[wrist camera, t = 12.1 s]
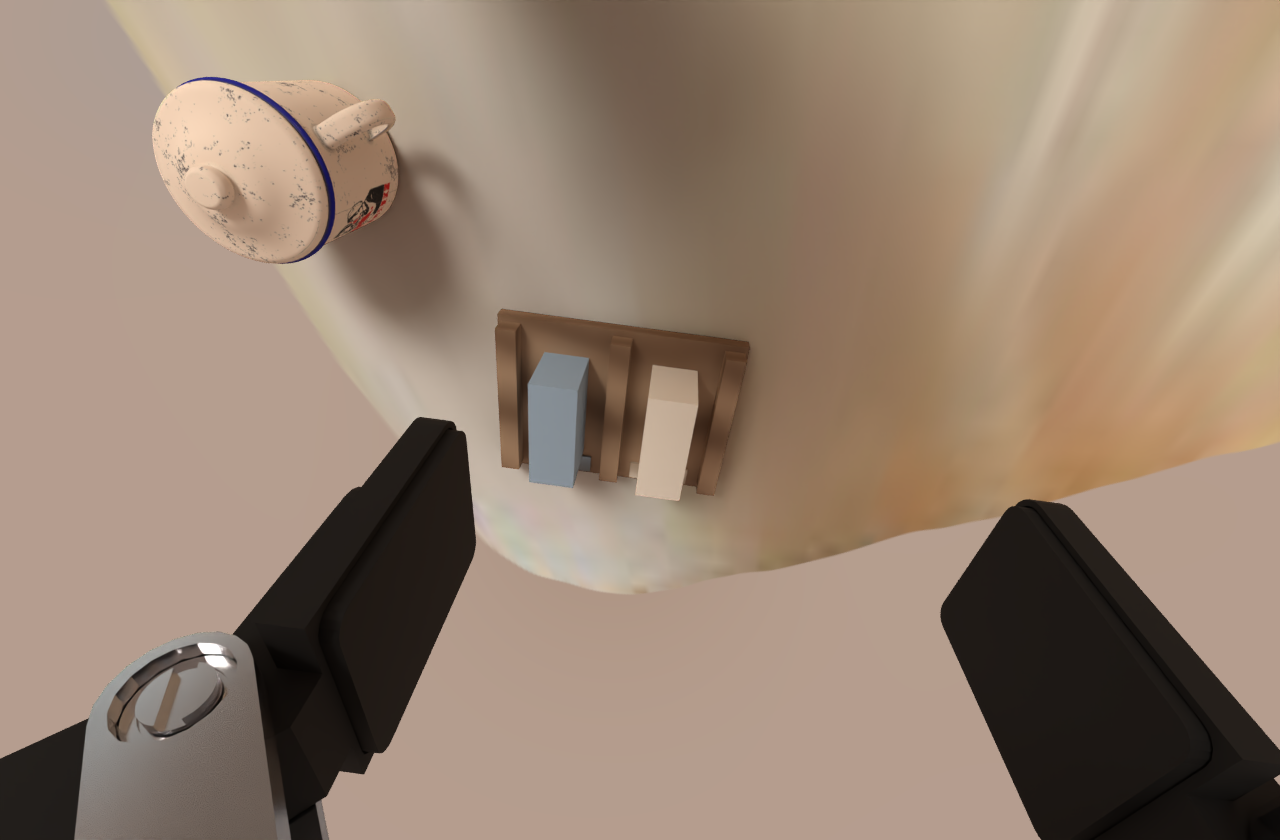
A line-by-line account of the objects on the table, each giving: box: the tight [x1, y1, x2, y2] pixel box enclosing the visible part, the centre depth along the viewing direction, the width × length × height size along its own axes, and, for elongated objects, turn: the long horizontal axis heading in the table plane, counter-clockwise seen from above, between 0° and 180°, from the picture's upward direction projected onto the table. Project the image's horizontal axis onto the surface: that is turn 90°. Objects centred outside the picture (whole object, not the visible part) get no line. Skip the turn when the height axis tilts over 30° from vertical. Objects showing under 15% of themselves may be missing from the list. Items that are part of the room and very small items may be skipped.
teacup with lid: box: [153, 77, 398, 264], centre depth 30 cm, size 12×9×12 cm
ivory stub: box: [635, 365, 698, 501], centre depth 41 cm, size 9×4×5 cm, turn 174°
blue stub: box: [528, 352, 589, 488], centre depth 41 cm, size 9×4×5 cm, turn 174°
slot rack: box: [495, 309, 750, 496], centre depth 43 cm, size 14×19×2 cm
